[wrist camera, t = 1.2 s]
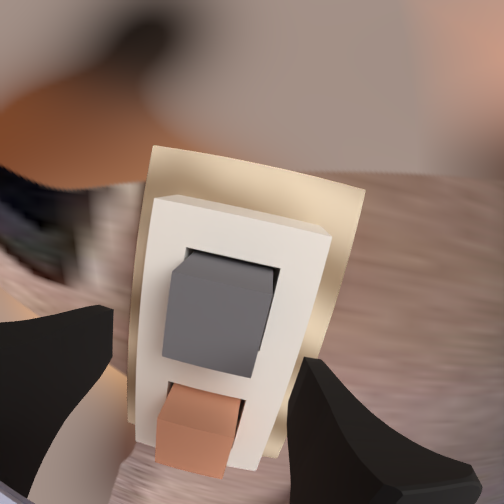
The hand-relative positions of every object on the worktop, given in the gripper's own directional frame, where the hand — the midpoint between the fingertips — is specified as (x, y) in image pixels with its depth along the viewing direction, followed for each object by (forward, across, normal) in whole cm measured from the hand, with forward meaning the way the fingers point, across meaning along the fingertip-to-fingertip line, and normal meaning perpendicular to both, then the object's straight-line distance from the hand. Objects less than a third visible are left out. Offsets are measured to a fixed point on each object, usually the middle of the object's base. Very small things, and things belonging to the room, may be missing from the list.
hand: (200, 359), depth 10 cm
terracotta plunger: (+6, 0, +8) cm, 10 cm away
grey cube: (+6, 0, 0) cm, 6 cm away
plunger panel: (+10, 0, +4) cm, 11 cm away
